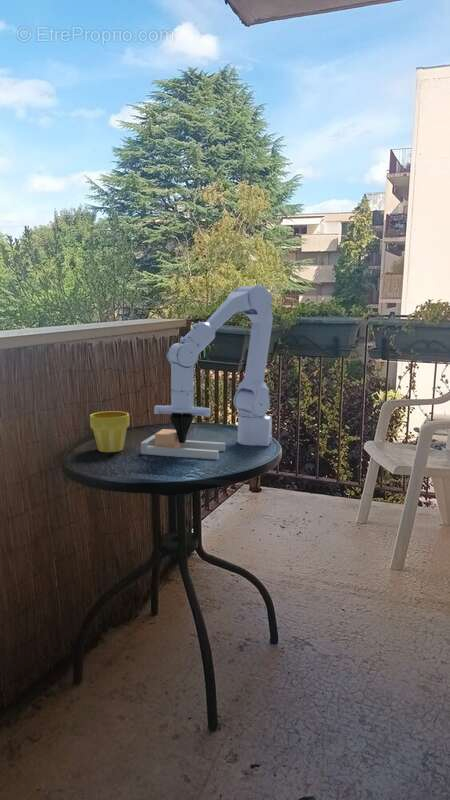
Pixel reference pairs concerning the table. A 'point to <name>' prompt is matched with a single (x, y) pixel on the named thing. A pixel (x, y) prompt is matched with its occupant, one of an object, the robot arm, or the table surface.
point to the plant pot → (109, 429)
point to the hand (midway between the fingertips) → (182, 442)
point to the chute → (184, 449)
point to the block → (167, 438)
